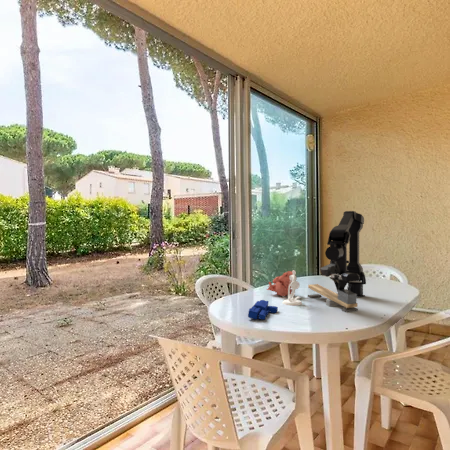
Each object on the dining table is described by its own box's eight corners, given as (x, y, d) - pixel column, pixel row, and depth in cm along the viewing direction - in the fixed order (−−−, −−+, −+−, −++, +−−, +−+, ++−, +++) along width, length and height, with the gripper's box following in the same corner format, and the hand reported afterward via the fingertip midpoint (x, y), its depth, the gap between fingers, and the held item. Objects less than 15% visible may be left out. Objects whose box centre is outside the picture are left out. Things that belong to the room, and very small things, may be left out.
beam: (317, 287, 168) (317, 284, 167) (357, 307, 139) (357, 303, 139) (308, 287, 166) (308, 284, 166) (346, 308, 138) (347, 304, 137)
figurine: (302, 305, 149) (302, 271, 148) (282, 305, 150) (281, 271, 150) (301, 301, 157) (301, 268, 157) (282, 300, 159) (282, 268, 159)
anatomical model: (294, 269, 165) (264, 269, 170) (294, 295, 161) (262, 294, 166) (297, 273, 174) (268, 273, 179) (296, 298, 170) (267, 297, 175)
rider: (345, 298, 145) (346, 289, 145) (356, 303, 139) (356, 293, 138) (337, 299, 144) (337, 289, 144) (347, 304, 138) (348, 294, 137)
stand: (319, 295, 168) (319, 291, 168) (359, 310, 139) (359, 304, 139) (306, 296, 166) (306, 292, 166) (344, 312, 137) (344, 306, 137)
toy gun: (280, 300, 147) (257, 296, 149) (273, 313, 126) (247, 308, 128) (278, 310, 147) (256, 305, 149) (271, 325, 126) (245, 319, 129)
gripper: (311, 256, 152) (311, 291, 153) (336, 261, 134) (336, 300, 135) (333, 255, 155) (333, 289, 156) (360, 260, 138) (360, 298, 138)
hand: (339, 294), depth 146 cm, fingers closed
